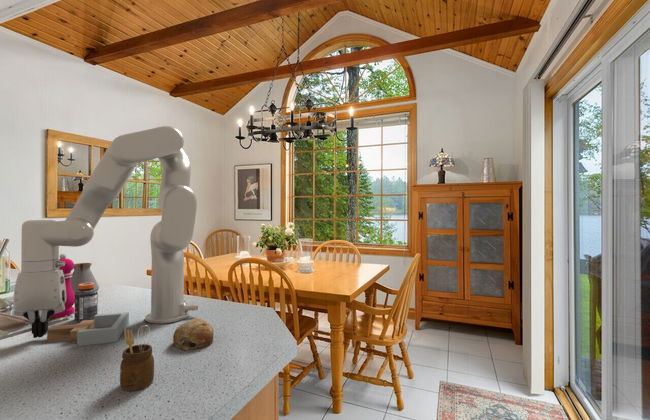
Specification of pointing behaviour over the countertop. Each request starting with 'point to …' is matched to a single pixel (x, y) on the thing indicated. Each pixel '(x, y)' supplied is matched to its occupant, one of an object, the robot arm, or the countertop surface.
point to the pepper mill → (67, 287)
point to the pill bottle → (85, 302)
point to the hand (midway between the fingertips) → (39, 335)
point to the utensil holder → (136, 364)
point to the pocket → (104, 329)
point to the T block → (69, 331)
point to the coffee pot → (82, 276)
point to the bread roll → (193, 334)
